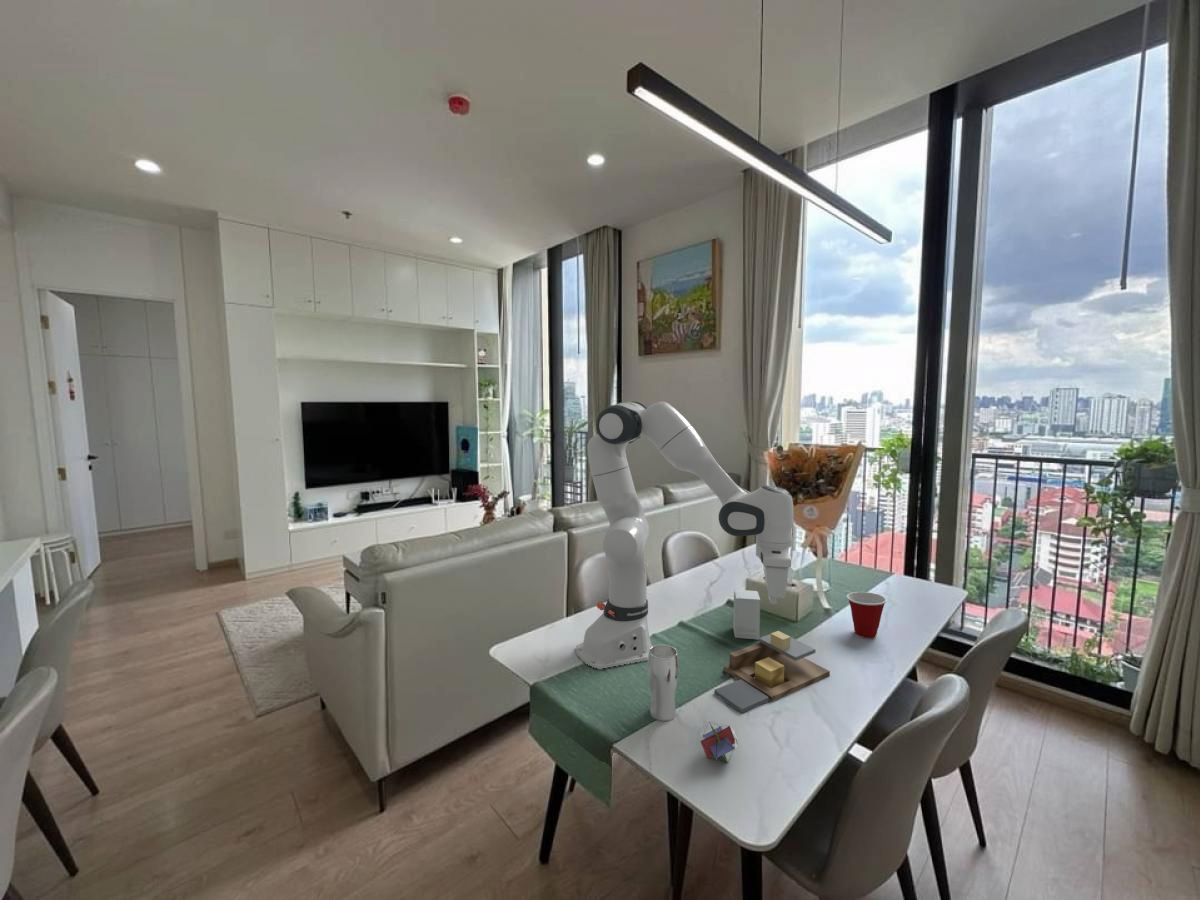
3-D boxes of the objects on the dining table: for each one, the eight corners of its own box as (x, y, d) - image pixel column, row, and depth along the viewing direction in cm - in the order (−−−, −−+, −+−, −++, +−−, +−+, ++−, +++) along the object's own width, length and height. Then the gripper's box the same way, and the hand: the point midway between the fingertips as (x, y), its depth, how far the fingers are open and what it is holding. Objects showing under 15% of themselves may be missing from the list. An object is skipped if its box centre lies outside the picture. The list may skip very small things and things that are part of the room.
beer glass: (641, 712, 114) (641, 651, 112) (660, 700, 119) (660, 640, 117) (665, 726, 109) (665, 662, 107) (684, 712, 114) (684, 651, 112)
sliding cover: (795, 660, 126) (795, 646, 125) (758, 641, 136) (759, 627, 136) (815, 652, 130) (816, 638, 129) (778, 634, 140) (778, 621, 140)
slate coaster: (741, 713, 113) (741, 709, 113) (714, 693, 121) (714, 689, 121) (768, 701, 118) (768, 697, 118) (740, 682, 125) (740, 679, 125)
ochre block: (770, 690, 122) (770, 671, 122) (754, 680, 127) (755, 662, 126) (783, 684, 125) (784, 665, 124) (768, 675, 129) (768, 657, 129)
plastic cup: (852, 622, 159) (853, 586, 158) (889, 633, 151) (891, 596, 150) (839, 634, 151) (841, 596, 150) (878, 646, 144) (880, 606, 142)
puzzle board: (771, 701, 118) (772, 681, 117) (723, 670, 131) (724, 652, 131) (829, 675, 129) (830, 657, 128) (779, 649, 142) (780, 632, 142)
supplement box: (759, 640, 148) (760, 599, 147) (734, 638, 149) (735, 598, 148) (757, 629, 155) (758, 590, 154) (732, 627, 156) (733, 588, 155)
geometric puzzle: (700, 762, 95) (724, 728, 95) (687, 738, 102) (709, 707, 102) (727, 779, 97) (750, 745, 97) (713, 754, 103) (735, 723, 103)
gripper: (758, 538, 135) (757, 586, 137) (763, 561, 116) (762, 617, 117) (782, 539, 134) (781, 588, 135) (792, 563, 114) (790, 620, 116)
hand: (772, 602), depth 126 cm, fingers closed
